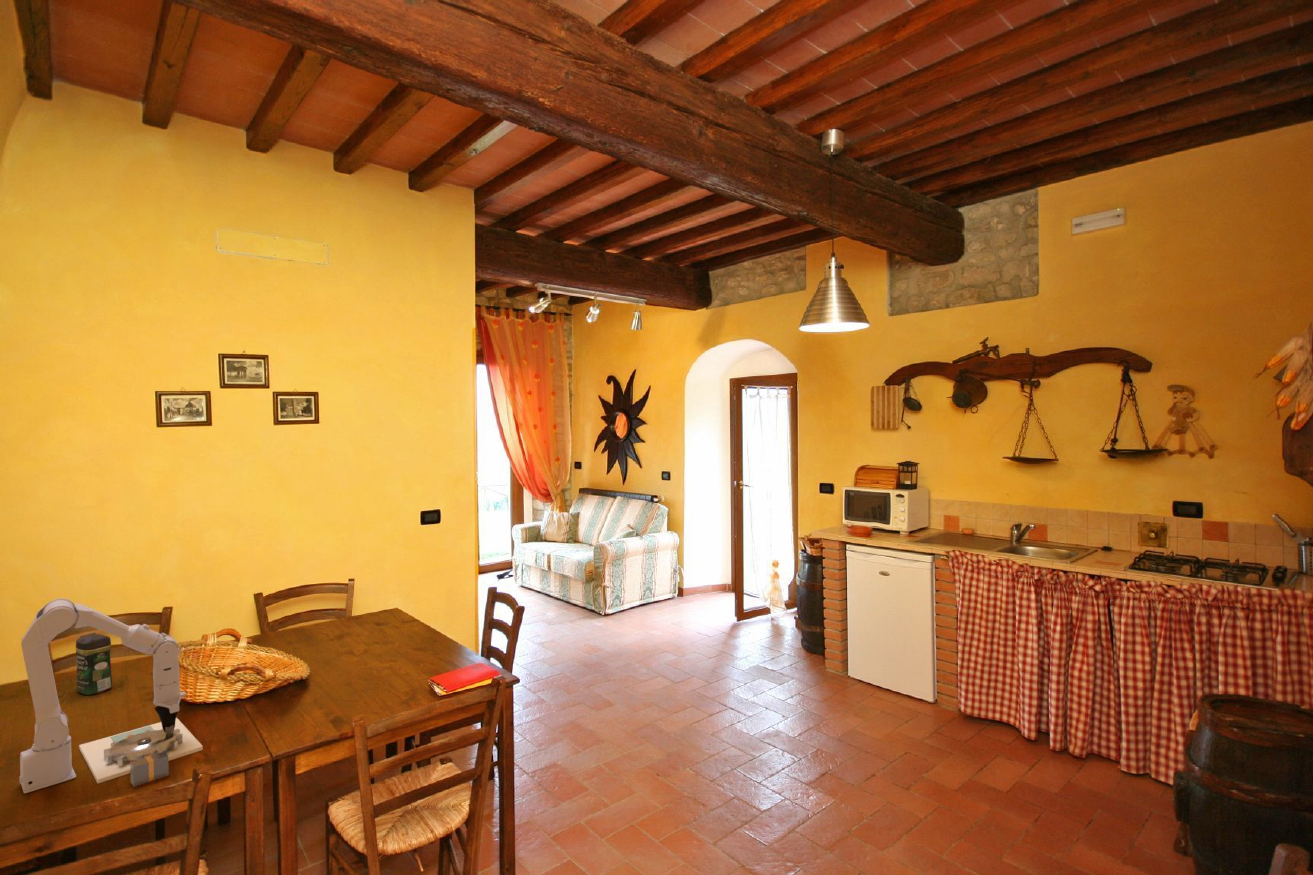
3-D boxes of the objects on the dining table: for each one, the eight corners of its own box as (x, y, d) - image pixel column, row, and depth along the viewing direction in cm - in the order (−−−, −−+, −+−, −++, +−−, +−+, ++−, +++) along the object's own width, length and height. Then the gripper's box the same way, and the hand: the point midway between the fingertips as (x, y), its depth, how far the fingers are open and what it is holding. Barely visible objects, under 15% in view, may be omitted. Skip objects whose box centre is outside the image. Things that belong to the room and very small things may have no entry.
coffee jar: (72, 691, 216) (71, 636, 215) (101, 683, 223) (100, 629, 222) (87, 697, 211) (85, 640, 211) (116, 688, 218) (115, 633, 218)
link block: (133, 787, 160) (133, 766, 160) (130, 782, 162) (130, 761, 162) (168, 775, 165) (168, 755, 165) (165, 770, 167) (164, 751, 167)
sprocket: (86, 766, 167) (86, 746, 167) (136, 734, 184) (135, 717, 184) (153, 765, 168) (152, 745, 168) (196, 734, 184) (196, 716, 184)
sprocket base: (97, 783, 162) (97, 778, 162) (79, 748, 179) (79, 744, 179) (202, 749, 178) (202, 745, 178) (176, 720, 195) (176, 716, 195)
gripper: (191, 683, 177) (194, 733, 178) (177, 670, 187) (179, 717, 187) (159, 692, 172) (162, 743, 172) (146, 678, 181) (148, 726, 182)
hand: (169, 730), depth 180 cm, fingers closed, pressing on sprocket
